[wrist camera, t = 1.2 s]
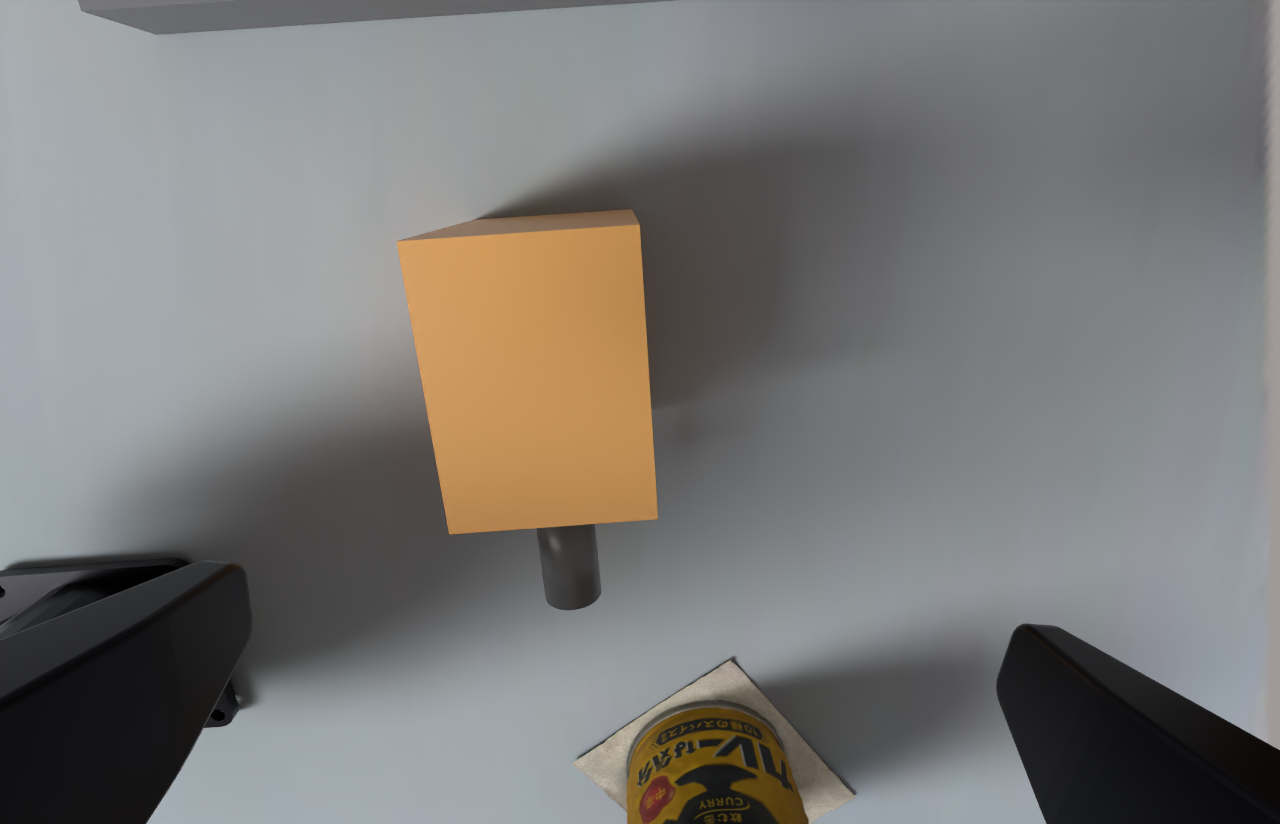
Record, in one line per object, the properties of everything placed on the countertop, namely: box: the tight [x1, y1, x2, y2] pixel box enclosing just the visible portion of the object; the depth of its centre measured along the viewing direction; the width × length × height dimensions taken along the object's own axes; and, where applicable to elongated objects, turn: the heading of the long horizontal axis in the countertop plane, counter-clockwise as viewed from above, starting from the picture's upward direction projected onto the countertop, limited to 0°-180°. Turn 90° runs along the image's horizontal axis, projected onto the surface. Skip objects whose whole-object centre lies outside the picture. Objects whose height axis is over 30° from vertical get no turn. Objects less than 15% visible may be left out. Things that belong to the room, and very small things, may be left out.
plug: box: [397, 209, 658, 610], centre depth 17 cm, size 4×9×7 cm, turn 4°
